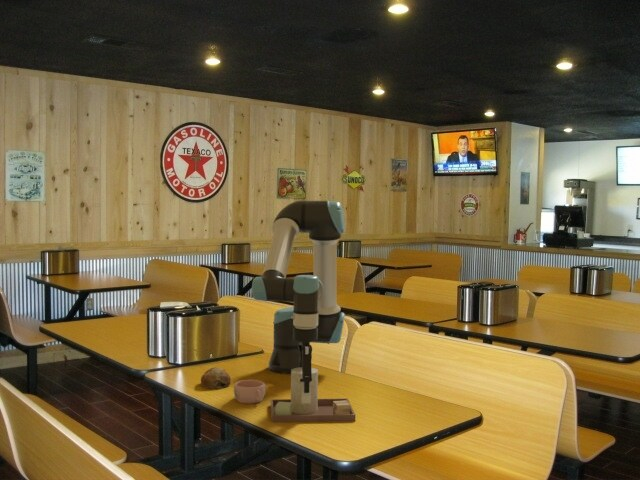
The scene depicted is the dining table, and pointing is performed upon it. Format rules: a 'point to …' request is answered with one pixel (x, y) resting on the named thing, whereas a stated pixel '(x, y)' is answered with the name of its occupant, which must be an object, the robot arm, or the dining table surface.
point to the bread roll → (215, 378)
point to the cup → (297, 392)
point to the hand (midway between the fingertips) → (304, 396)
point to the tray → (321, 415)
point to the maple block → (341, 407)
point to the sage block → (284, 408)
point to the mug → (249, 391)
